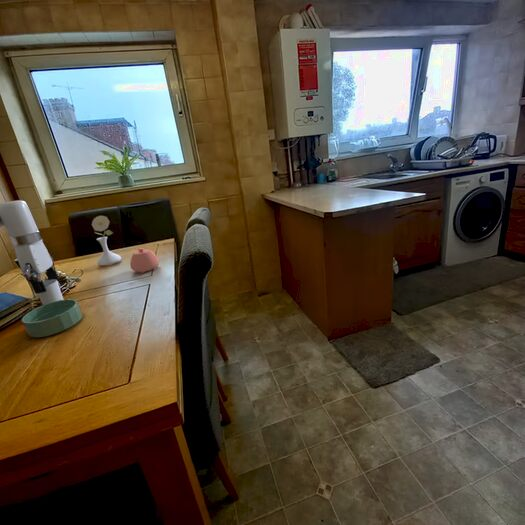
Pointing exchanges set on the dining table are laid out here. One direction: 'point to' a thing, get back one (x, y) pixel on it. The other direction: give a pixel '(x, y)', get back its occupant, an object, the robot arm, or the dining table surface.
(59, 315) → the teal pet bowl
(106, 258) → the flower in vase
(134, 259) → the sugar bowl
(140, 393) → the dining table surface
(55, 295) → the white cup
